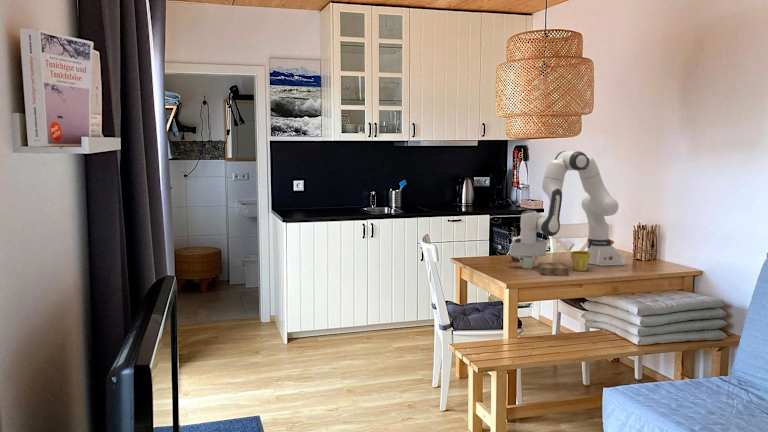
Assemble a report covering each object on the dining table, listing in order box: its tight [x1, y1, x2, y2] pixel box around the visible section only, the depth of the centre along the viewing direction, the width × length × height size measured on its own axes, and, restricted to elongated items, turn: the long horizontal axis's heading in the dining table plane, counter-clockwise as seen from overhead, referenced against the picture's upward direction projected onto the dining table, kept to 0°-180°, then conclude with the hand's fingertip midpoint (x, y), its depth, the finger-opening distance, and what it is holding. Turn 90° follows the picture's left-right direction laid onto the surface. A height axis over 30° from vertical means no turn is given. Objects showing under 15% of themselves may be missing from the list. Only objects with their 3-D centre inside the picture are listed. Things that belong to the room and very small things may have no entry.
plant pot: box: [570, 250, 590, 272], centre depth 357 cm, size 10×10×10 cm
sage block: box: [522, 256, 534, 269], centre depth 365 cm, size 5×5×6 cm
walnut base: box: [537, 262, 569, 277], centre depth 350 cm, size 14×14×4 cm
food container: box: [508, 246, 523, 263], centre depth 382 cm, size 12×6×10 cm, turn 84°
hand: (527, 263), depth 365 cm, fingers open, 5 cm apart
